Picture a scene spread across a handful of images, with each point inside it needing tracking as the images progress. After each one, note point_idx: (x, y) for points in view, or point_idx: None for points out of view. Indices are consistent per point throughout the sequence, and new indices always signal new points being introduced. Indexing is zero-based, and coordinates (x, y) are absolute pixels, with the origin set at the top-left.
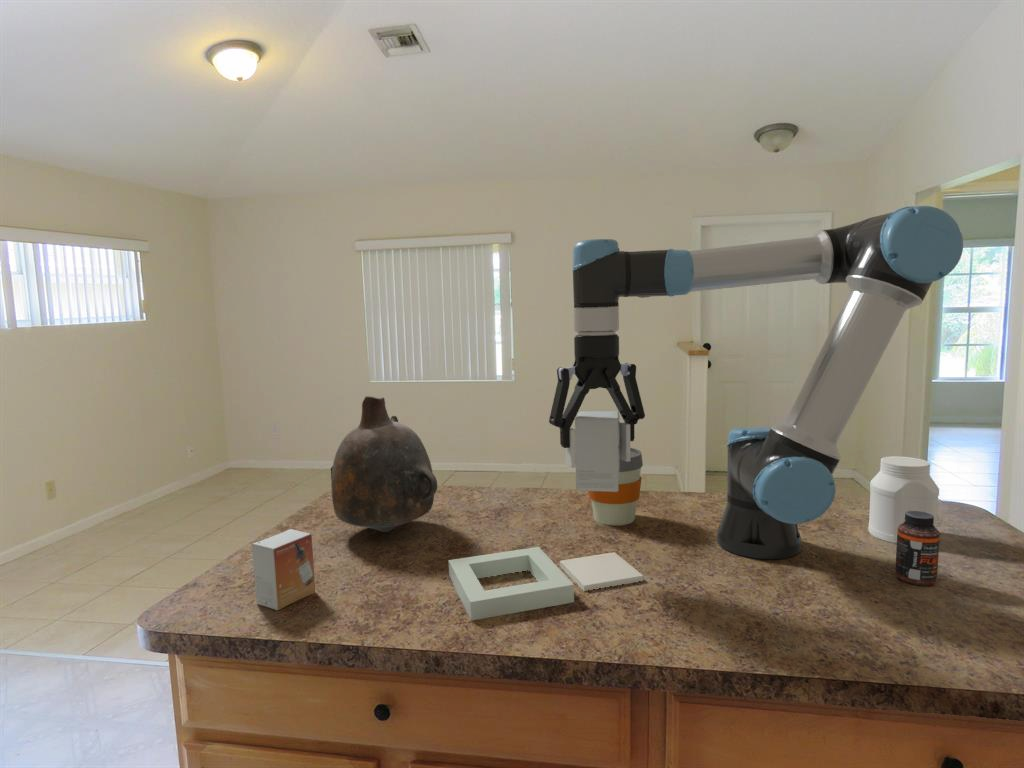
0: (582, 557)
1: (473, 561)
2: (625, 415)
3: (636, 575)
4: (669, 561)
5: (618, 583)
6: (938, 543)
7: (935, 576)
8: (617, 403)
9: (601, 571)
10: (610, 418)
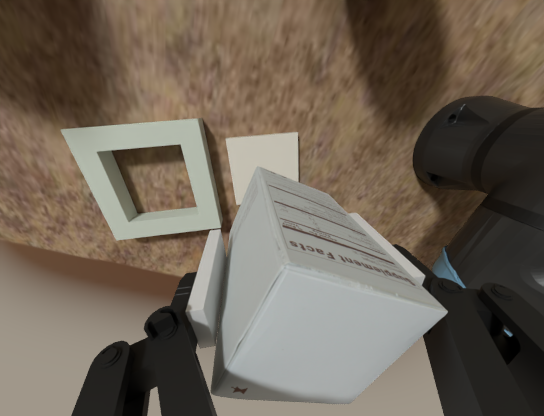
0: (255, 137)
1: (101, 144)
2: (427, 338)
3: None
4: (345, 160)
5: None
6: None
7: None
8: (453, 395)
9: None
10: (329, 403)
